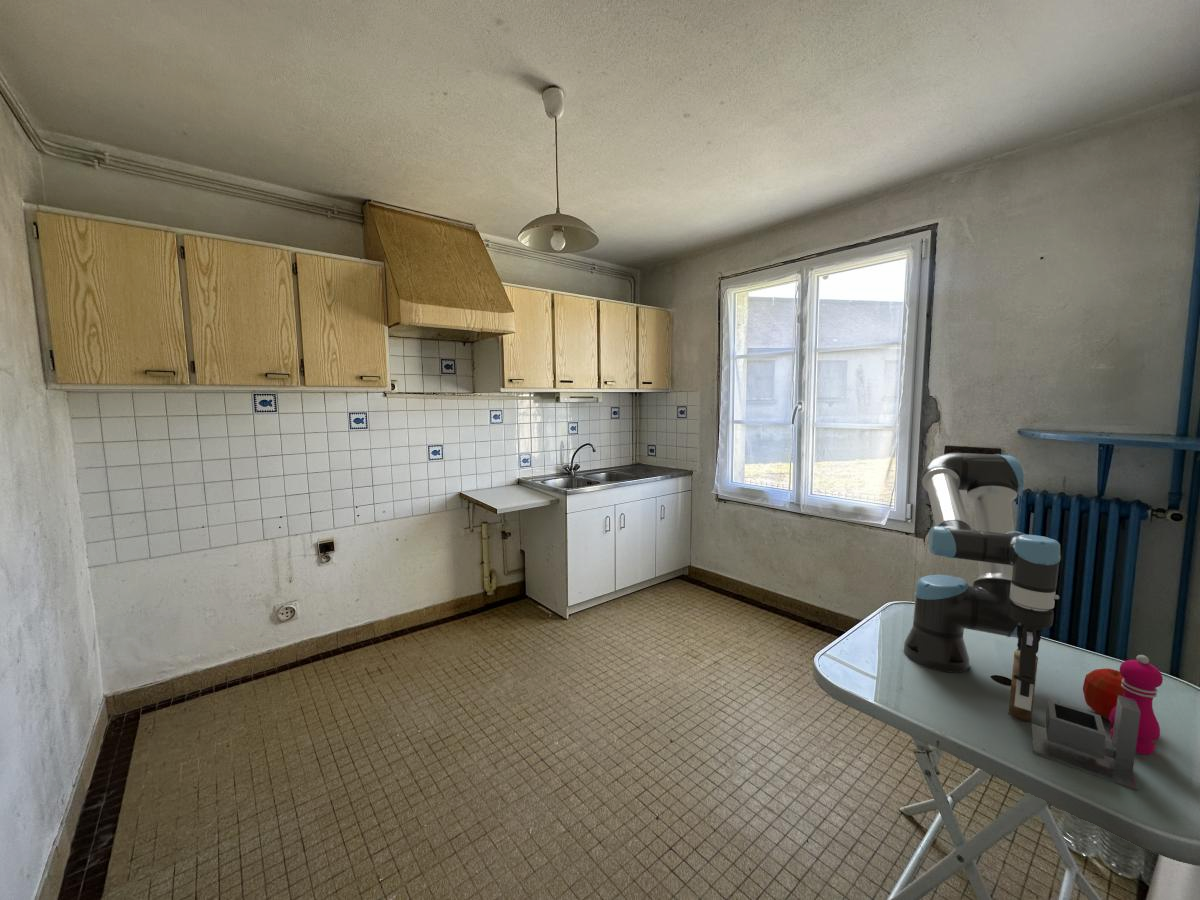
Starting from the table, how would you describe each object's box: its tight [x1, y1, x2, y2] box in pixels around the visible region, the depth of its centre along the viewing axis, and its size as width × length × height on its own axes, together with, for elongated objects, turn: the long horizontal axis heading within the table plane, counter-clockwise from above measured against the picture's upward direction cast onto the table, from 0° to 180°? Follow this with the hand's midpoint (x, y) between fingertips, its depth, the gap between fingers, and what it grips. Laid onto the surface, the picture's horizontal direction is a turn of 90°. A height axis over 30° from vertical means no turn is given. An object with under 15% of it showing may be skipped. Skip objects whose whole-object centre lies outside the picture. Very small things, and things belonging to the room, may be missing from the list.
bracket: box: [1031, 695, 1141, 791], centre depth 98 cm, size 14×11×14 cm
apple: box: [1082, 668, 1124, 721], centre depth 110 cm, size 10×10×12 cm
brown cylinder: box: [1008, 649, 1039, 723], centre depth 110 cm, size 4×4×15 cm
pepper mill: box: [1108, 654, 1164, 755], centre depth 101 cm, size 7×7×20 cm
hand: (1022, 694), depth 110 cm, fingers open, 12 cm apart
